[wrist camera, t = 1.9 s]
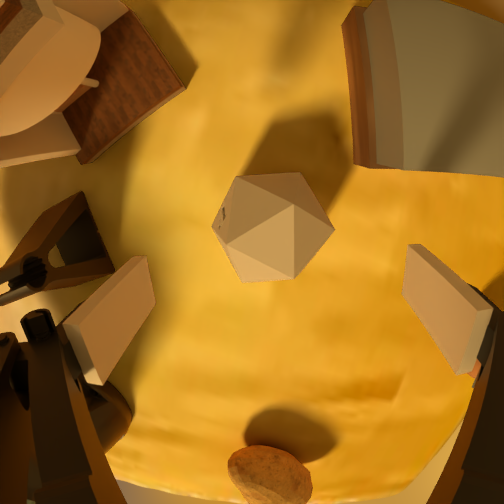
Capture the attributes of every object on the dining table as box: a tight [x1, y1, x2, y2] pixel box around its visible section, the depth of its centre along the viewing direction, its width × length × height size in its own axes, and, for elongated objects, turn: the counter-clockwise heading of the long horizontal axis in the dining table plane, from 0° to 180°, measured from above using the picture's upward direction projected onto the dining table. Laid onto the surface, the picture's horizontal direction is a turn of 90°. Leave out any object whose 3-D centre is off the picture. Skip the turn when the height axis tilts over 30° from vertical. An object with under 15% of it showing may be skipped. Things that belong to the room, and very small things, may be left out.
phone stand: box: [0, 191, 115, 306], centre depth 24 cm, size 9×6×12 cm, turn 18°
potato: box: [228, 445, 313, 504], centre depth 35 cm, size 10×14×10 cm
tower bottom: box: [341, 6, 397, 169], centre depth 21 cm, size 13×13×5 cm
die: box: [212, 172, 335, 283], centre depth 24 cm, size 8×9×10 cm
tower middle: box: [363, 0, 504, 177], centre depth 16 cm, size 12×12×5 cm
